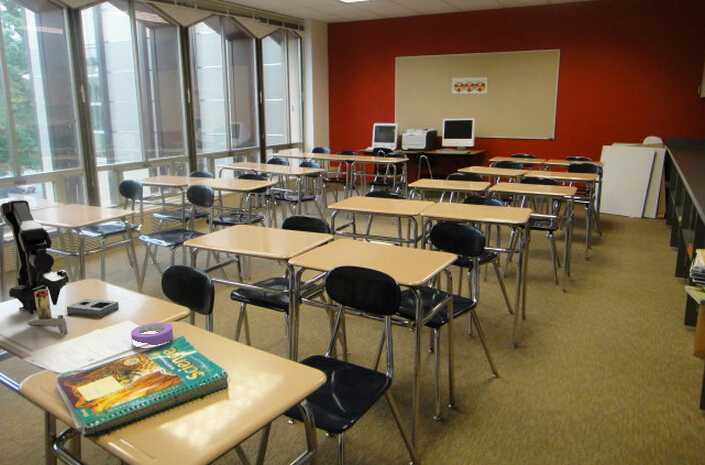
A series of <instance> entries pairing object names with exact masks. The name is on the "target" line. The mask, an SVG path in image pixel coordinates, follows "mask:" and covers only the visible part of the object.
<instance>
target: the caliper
mask: <svg viewBox="0 0 705 465" xmlns="http://www.w3.org/2000/svg"><path fill="white" fill-rule="evenodd" d="M27 324H30V325H33V326H35V325H36V326H38V325H41V326H44V325H46V326H47V325H48V326H51V327H52V328H56V327H57V328H58V331H59V333H60V334H63V335H65V334H67V333H68V326H67V322H66V318H64V315H63V314H59V315H56V317H54V318H52V319H49V320H38V319H30V320H29V321H28V322H27Z"/></svg>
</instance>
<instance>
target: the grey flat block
mask: <svg viewBox="0 0 705 465" xmlns="http://www.w3.org/2000/svg"><path fill="white" fill-rule="evenodd" d="M119 308H120V306H119V301H114V300H103V299H97V298H96V299H95V298H94V299H93V298H84V299H82V300H80V301H77V302H75V303H72V304H70V305H67V306H66V312H67V314H69V315H77V316H86V317H92V318H95V317H96V318H102V317H104V316H106V315H108V314H110V313H113V312H114V311H116V310H119Z"/></svg>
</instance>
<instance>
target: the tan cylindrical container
mask: <svg viewBox="0 0 705 465" xmlns="http://www.w3.org/2000/svg"><path fill="white" fill-rule="evenodd" d="M34 295H35V301H36V308H37V310H36V314H37V320H49V319H52V316H53V315H52V309H51V303H50V302H51V301H50V294H49V290H48V288H46V289H42V290H37V291H35V292H34Z"/></svg>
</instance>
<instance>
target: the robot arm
mask: <svg viewBox="0 0 705 465" xmlns="http://www.w3.org/2000/svg"><path fill="white" fill-rule="evenodd" d="M0 216H1V217H3V218H2V219H3V221H4V223H5V224H6V225H8V226H9V228H10V229H11V232H12V236H13V237H12V238H13V240H14V241H13V242H14V245H15V250H16V254H17V258H18V259H17V260H18V263H19V269H18V271H17V273H16V279H15V286H13V287H11V288H10V289H9V290H8V291H9V292H8V295H9V297H10V298H13V299H17V300H18V301H19V302H20V303H21V304H22V306H20V307H18V308H19V309H18V310H20V309H25V310H24V311H27V312H28V313H29V315H34V311H37V308H36V301H35V295H34V292H35V291H37V290H42V289H47V290H48V293H49V298H50V299H51V302H52V304H53V306H56V305H57V304H58V301H59V297H60V293H61V290H62V289H63V287H65V286H66V285H67V283H69V282H70V278H69V276H68V275H67V271H66V270H63V269H62V270H59V271H55V272H54V271H53V270H52V267H53V266H54V263H55V259H54V257H53V256H52V255H51V254H50V253H48V251H47V249H52V243H53V242H52V239H51V237H50V234H49V232H48V231H47V230H46V229H45V228H44V227H43V225H42V224H41V223H39V222H36V221H35V219H34V217H33V215H32V213H31V208H30V204H29V201H27V199H23V198H21V199H11V200H9V201H8V202H3V203H2V204H1V205H0Z"/></svg>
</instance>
